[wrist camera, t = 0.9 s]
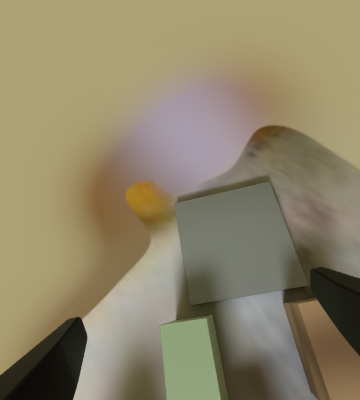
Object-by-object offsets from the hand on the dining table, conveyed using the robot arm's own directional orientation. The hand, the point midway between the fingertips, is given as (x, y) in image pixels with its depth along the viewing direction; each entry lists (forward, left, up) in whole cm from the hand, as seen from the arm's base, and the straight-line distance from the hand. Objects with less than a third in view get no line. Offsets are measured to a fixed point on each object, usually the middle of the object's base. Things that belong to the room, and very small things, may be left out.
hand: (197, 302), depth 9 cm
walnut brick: (-4, -7, -13) cm, 15 cm away
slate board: (+5, -3, -13) cm, 14 cm away
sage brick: (-4, +2, -13) cm, 14 cm away
